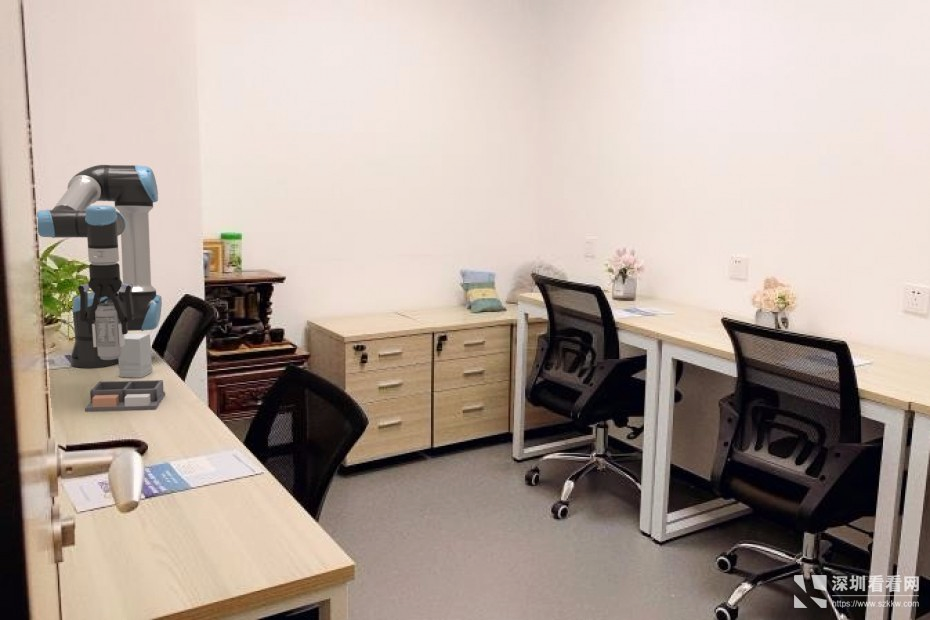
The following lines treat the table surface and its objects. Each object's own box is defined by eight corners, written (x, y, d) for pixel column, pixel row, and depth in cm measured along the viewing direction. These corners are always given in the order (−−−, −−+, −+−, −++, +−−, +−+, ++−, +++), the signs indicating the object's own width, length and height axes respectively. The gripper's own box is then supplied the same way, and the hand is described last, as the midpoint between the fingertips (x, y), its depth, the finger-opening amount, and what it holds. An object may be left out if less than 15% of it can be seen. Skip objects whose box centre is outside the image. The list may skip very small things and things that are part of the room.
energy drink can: (126, 355, 216) (123, 303, 213) (114, 360, 210) (111, 307, 207) (105, 354, 216) (102, 302, 213) (93, 359, 210) (90, 306, 208)
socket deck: (98, 396, 219) (97, 381, 218) (165, 395, 222) (164, 380, 222) (85, 411, 207) (84, 395, 206) (155, 409, 210) (154, 393, 209)
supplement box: (153, 372, 245) (151, 333, 243) (141, 378, 238) (138, 338, 235) (131, 370, 246) (128, 332, 243) (118, 377, 239) (116, 337, 236)
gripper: (61, 264, 203) (68, 349, 207) (137, 265, 206) (142, 348, 211) (70, 261, 210) (76, 343, 214) (144, 261, 213) (148, 342, 218)
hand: (109, 345), depth 213 cm, fingers closed on energy drink can, 6 cm apart
